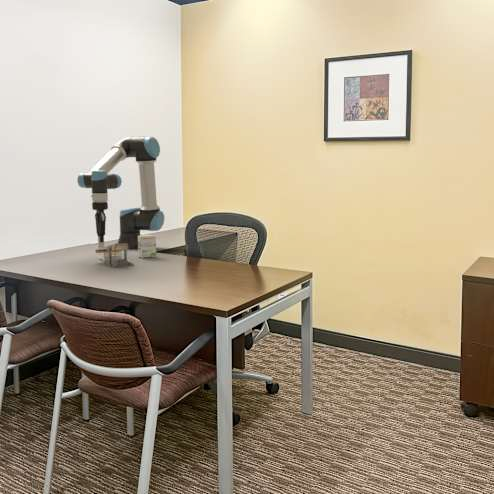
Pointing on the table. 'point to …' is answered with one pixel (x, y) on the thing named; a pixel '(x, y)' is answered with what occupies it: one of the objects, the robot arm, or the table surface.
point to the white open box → (116, 256)
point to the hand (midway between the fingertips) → (101, 248)
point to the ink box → (147, 246)
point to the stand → (118, 262)
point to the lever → (114, 248)
